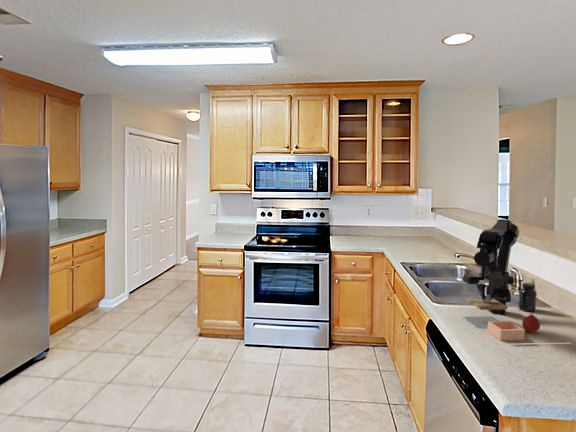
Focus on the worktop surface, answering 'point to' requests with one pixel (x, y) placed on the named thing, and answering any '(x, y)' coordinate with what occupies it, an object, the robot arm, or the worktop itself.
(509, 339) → the terracotta dish
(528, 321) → the onion
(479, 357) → the worktop surface
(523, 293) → the supplement bottle
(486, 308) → the walnut lid
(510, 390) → the worktop surface
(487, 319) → the rubber mat
